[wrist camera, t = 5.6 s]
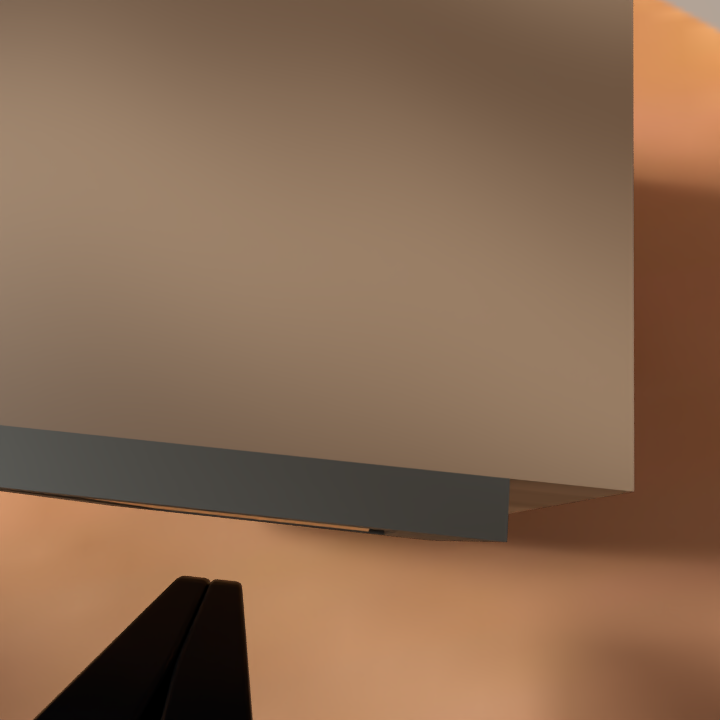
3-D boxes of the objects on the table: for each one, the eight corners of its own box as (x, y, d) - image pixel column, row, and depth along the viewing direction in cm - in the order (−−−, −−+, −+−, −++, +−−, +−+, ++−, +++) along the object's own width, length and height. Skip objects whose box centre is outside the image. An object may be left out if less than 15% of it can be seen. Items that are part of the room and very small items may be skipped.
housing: (469, 545, 16) (634, 555, 6) (108, 506, 17) (-281, 456, 7) (492, 162, 19) (632, -253, 9) (182, 135, 19) (-14, -297, 9)
